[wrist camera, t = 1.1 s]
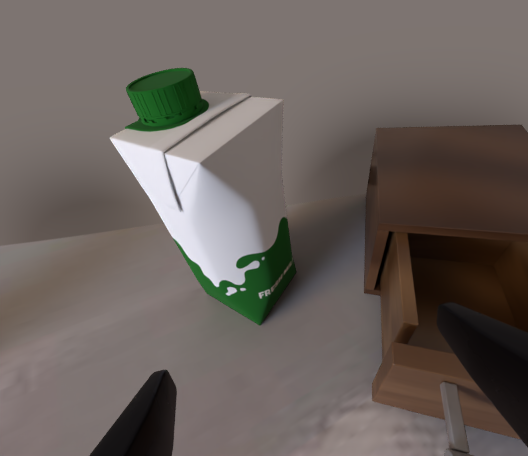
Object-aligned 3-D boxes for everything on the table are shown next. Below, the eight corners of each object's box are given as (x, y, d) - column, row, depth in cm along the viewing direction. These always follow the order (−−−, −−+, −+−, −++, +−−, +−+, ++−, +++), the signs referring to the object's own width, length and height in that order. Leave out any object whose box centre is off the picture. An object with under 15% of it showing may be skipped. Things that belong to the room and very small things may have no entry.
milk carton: (243, 241, 33) (186, 56, 19) (309, 269, 28) (297, 54, 14) (194, 296, 28) (70, 105, 14) (263, 340, 24) (181, 126, 10)
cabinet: (525, 317, 22) (615, 240, 15) (363, 293, 26) (378, 222, 19) (478, 202, 31) (521, 124, 25) (365, 197, 35) (376, 127, 28)
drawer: (627, 569, 13) (860, 628, 7) (372, 482, 16) (398, 477, 11) (505, 268, 24) (558, 203, 19) (371, 253, 28) (384, 195, 22)
